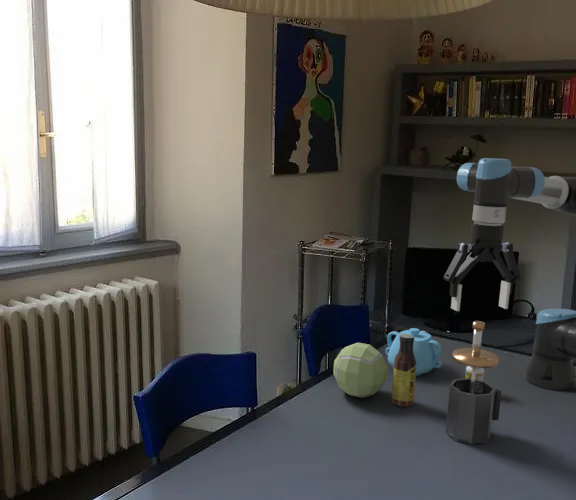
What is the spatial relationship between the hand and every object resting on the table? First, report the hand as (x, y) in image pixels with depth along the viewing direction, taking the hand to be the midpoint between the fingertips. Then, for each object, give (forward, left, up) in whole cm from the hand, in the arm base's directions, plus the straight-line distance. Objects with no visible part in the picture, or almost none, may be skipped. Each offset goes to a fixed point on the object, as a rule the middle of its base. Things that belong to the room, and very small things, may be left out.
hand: (479, 308), depth 156 cm
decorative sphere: (+18, -29, -34) cm, 48 cm away
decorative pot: (-7, -44, -34) cm, 56 cm away
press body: (-2, 0, -34) cm, 34 cm away
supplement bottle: (-17, -24, -34) cm, 45 cm away
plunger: (0, 0, -25) cm, 25 cm away
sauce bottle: (+8, -21, -34) cm, 41 cm away
